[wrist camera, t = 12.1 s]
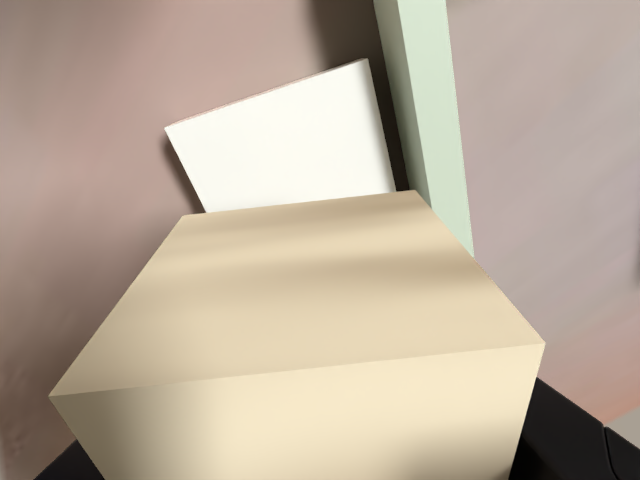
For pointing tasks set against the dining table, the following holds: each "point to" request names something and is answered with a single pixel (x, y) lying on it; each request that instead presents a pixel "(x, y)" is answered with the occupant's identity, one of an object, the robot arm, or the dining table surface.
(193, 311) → the block
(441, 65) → the shelf bay
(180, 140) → the stand
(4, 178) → the dining table surface
